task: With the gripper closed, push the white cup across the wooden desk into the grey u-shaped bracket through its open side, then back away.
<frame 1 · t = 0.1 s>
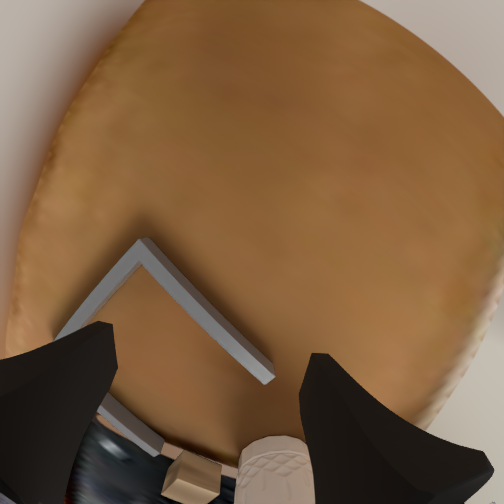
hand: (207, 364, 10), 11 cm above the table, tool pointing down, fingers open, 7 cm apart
oak cube: (194, 466, 22), on the table
grey u-shaped bracket: (149, 360, 20), on the table
white cup: (274, 456, 22), on the table
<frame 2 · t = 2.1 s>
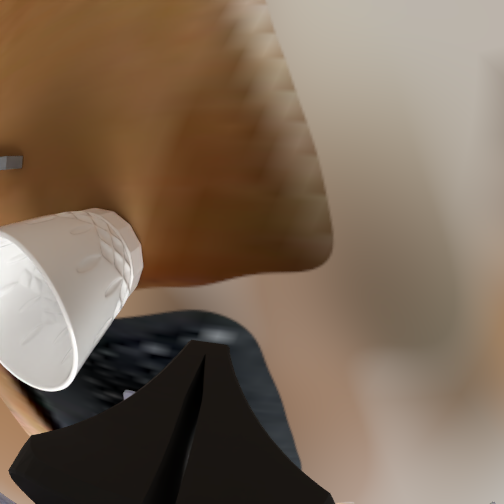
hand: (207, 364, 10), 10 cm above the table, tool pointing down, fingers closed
white cup: (103, 254, 19), on the table
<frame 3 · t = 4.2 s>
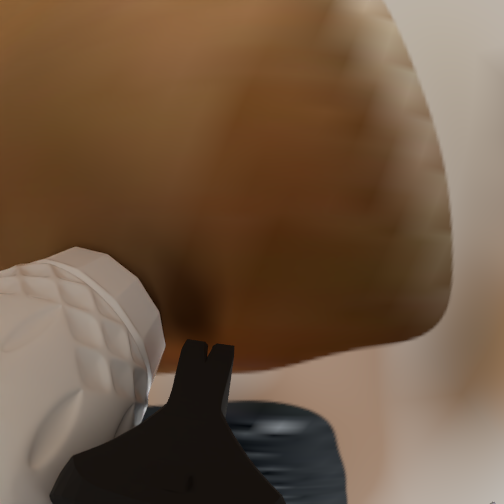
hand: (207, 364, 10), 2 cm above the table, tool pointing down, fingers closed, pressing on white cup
white cup: (96, 320, 11), on the table, touching gripper
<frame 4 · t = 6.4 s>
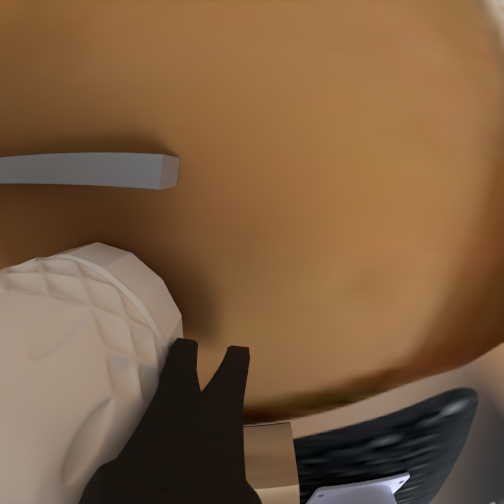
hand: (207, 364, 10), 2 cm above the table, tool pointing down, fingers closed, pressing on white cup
oak cube: (255, 446, 13), on the table
grey u-shaped bracket: (45, 308, 11), on the table
white cup: (112, 317, 11), on the table, touching gripper
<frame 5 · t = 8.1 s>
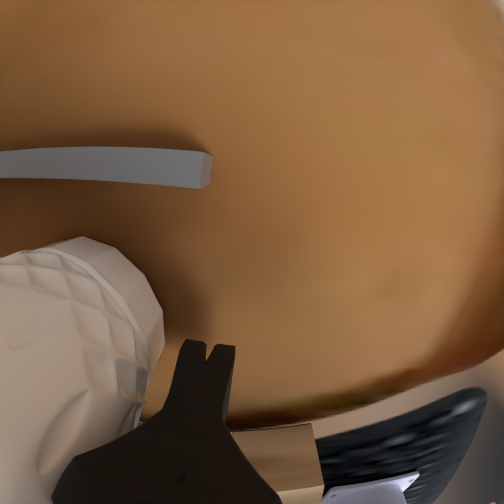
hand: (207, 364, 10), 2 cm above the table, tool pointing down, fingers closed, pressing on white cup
oak cube: (274, 448, 13), on the table
grey u-shaped bracket: (60, 311, 11), on the table
white cup: (96, 311, 11), on the table, touching gripper
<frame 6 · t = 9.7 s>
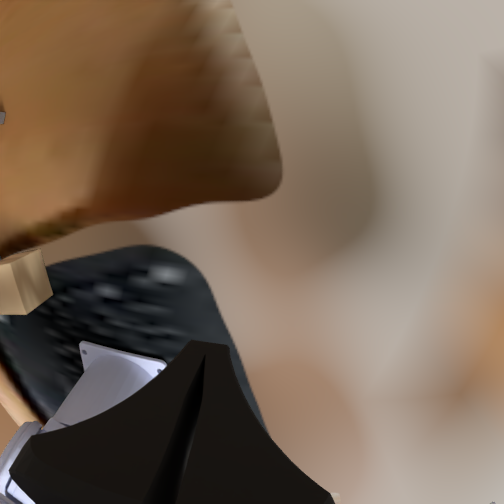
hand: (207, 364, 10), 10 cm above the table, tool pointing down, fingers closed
oak cube: (32, 273, 19), on the table
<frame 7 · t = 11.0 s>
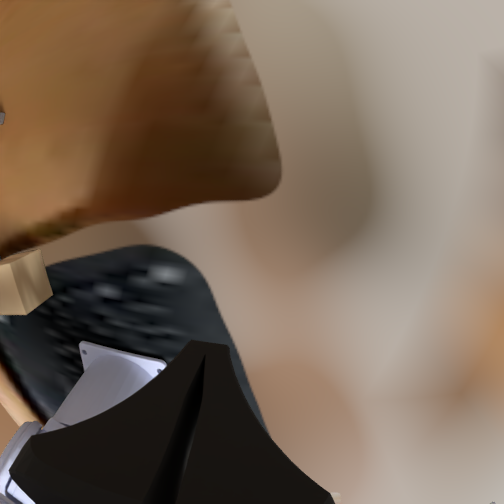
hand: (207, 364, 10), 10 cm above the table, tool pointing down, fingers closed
oak cube: (32, 274, 19), on the table
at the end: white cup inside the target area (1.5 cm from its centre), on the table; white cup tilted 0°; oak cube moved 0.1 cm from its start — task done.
